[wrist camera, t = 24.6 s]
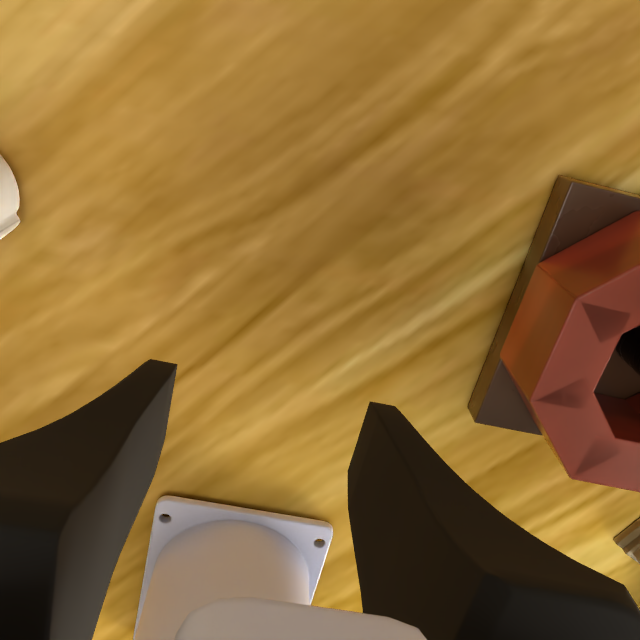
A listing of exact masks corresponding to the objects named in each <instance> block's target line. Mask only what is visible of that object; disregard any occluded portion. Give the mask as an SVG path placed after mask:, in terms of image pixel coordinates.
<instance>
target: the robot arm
mask: <svg viewBox="0 0 640 640" xmlns="http://www.w3.org/2000/svg"><path fill="white" fill-rule="evenodd" d="M176 370H177V364H173V363H168V362H163V361H157V360H152V359H150V360H148V361H147V362H145V363H144V364H142V365H141V366H140V367H139V368H137V369H136V370H135V371H134V372H132V373H131V374H130V375H128V376H127V377H126V378H124V379H123V380H122V381H120V382H119V383H118V384H116V385H115V386H113V387H112V388H111V389H109V390H108V391H106V392H105V393H103V394H102V395H101V396H99V397H98V398H96V399H94V400H93V401H91V402H89V403H88V404H86V405H85V406H83V407H81V408H80V409H78V410H76V411H75V412H73V413H71V414H69V415H67V416H65V417H64V418H62V419H59V420H57V421H55V422H53V423H51V424H49V425H46V426H44V427H42V428H40V429H37V430H35V431H32V432H29V433H27V434H24V435H21V436H18V437H16V438H13V439H10V440H7V441H5V442H2V443H0V640H92V637H93V634H94V631H95V628H96V624H97V621H98V618H99V615H100V611H101V608H102V605H103V602H104V599H105V596H106V592H107V589H108V586H109V583H110V580H111V577H112V574H113V571H114V568H115V566H116V563H117V561H118V558H119V555H120V553H121V551H122V548H123V546H124V544H125V542H126V539H127V537H128V535H129V532H130V530H131V528H132V526H133V523H134V521H135V519H136V516H137V514H138V512H139V509H140V507H141V505H142V503H143V500H144V498H145V496H146V493H147V491H148V489H149V486H150V484H151V482H152V479H153V477H154V474H155V471H156V468H157V464H158V461H159V457H160V454H161V450H162V447H163V443H164V440H165V435H166V429H167V423H168V417H169V411H170V405H171V399H172V393H173V387H174V381H175V376H176ZM348 511H349V518H350V525H351V532H352V538H353V545H354V551H355V558H356V564H357V570H358V577H359V583H360V590H361V598H362V607H363V613H358V612H352V611H345V610H338V609H331V608H324V607H318V606H311V602H312V599H313V596H314V593H315V590H316V586H317V583H318V580H319V577H320V574H321V571H322V568H323V565H324V562H325V559H326V555H327V552H328V549H329V546H330V543H331V540H332V537H333V528H332V525H331V524H330V523H328V522H326V521H321V520H315V519H309V518H303V517H297V516H291V515H285V514H279V513H272V512H266V511H260V510H254V509H248V508H242V507H236V506H230V505H224V504H218V503H212V502H206V501H200V500H194V499H188V498H182V497H176V496H162V497H161V498H159V499H158V501H157V504H156V507H155V513H154V519H153V525H152V531H151V536H150V542H149V548H148V554H147V560H146V566H145V572H144V578H143V583H142V589H141V595H140V601H139V607H138V613H137V619H136V625H135V630H134V636H133V640H640V610H639V608H638V607H637V605H636V603H635V602H634V600H633V598H632V597H631V595H630V594H629V592H628V590H627V589H626V587H625V586H624V585H623V584H621V583H619V582H617V581H615V580H613V579H611V578H609V577H607V576H605V575H603V574H601V573H599V572H597V571H595V570H593V569H591V568H588V567H586V566H584V565H582V564H580V563H578V562H577V561H575V560H573V559H571V558H570V557H568V556H566V555H564V554H563V553H561V552H559V551H557V550H556V549H554V548H552V547H551V546H549V545H547V544H546V543H544V542H542V541H541V540H539V539H538V538H536V537H535V536H533V535H531V534H530V533H529V532H527V531H526V530H524V529H523V528H521V527H520V526H519V525H517V524H516V523H514V522H513V521H511V520H510V519H509V518H507V517H506V516H505V515H503V514H502V513H501V512H499V511H498V510H497V509H495V508H494V507H493V506H492V505H491V504H489V503H488V502H487V501H486V500H485V499H483V498H482V497H481V496H480V495H479V494H477V493H476V492H475V491H474V490H473V489H472V488H471V487H470V486H468V485H467V484H466V483H465V482H464V481H463V480H462V479H461V478H460V477H459V476H458V475H457V474H456V473H455V472H454V471H453V470H452V469H451V468H450V467H449V466H448V465H447V464H446V463H445V462H444V461H443V460H442V459H441V458H440V456H439V455H438V454H437V453H436V452H435V451H434V450H433V449H432V448H431V446H430V445H429V444H428V443H427V442H426V441H425V440H424V439H423V437H422V436H421V435H420V434H419V433H418V432H417V430H416V429H415V428H414V427H413V426H412V425H411V423H410V422H409V421H408V420H407V419H406V418H405V416H404V415H403V414H402V413H401V412H400V411H399V410H398V409H397V408H396V407H395V406H391V405H386V404H381V403H375V402H370V403H369V406H368V409H367V412H366V415H365V419H364V422H363V425H362V428H361V431H360V434H359V437H358V441H357V444H356V447H355V450H354V453H353V456H352V460H351V463H350V466H349V469H348ZM162 514H168V515H169V516H170V517H165V516H163V515H162ZM317 539H323V540H322V541H316V540H317Z"/></svg>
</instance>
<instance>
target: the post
mask: <svg viewBox="0 0 640 640" xmlns="http://www.w3.org/2000/svg"><path fill="white" fill-rule="evenodd" d="M639 210H640V195H637V194H633V193H629V192H625V191H621V190H617V189H613V188H609V187H605V186H601V185H597V184H593V183H589V182H585V181H581V180H577V179H573V178H569V177H566V176H562V175H559V176H558V178H557V181H556V183H555V186H554V189H553V191H552V194H551V196H550V199H549V201H548V204H547V206H546V209H545V211H544V214H543V217H542V219H541V222H540V224H539V227H538V229H537V232H536V234H535V237H534V239H533V242H532V245H531V247H530V250H529V252H528V255H527V257H526V260H525V262H524V265H523V267H522V270H521V273H520V275H519V278H518V280H517V283H516V285H515V288H514V290H513V293H512V295H511V298H510V301H509V303H508V306H507V308H506V311H505V313H504V316H503V318H502V321H501V323H500V326H499V329H498V331H497V334H496V336H495V339H494V341H493V344H492V346H491V349H490V352H489V354H488V357H487V359H486V362H485V364H484V367H483V369H482V372H481V374H480V377H479V380H478V382H477V385H476V387H475V390H474V392H473V395H472V397H471V400H470V402H469V405H468V409H469V411H470V413H471V415H472V417H473V419H474V422H476V423H480V424H485V425H491V426H496V427H501V428H506V429H511V430H517V431H522V432H527V433H532V434H537V435H542V433H541V432H540V430H539V429H538V427H537V426H536V424H535V422H534V420H533V418H532V416H531V414H530V413H529V411H528V409H527V407H526V405H525V403H524V401H523V399H522V398H521V396H520V394H519V392H518V390H517V388H516V386H515V385H514V383H513V381H512V379H511V377H510V375H509V373H508V371H507V370H506V368H505V366H504V364H503V362H502V360H501V358H500V353H501V350H502V348H503V345H504V343H505V340H506V338H507V336H508V333H509V331H510V328H511V326H512V323H513V321H514V319H515V316H516V314H517V311H518V309H519V306H520V304H521V302H522V299H523V297H524V294H525V292H526V289H527V287H528V285H529V282H530V280H531V277H532V275H533V272H534V270H535V268H536V265H538V264H539V263H540V262H542V261H544V260H546V259H548V258H549V257H551V256H553V255H555V254H557V253H559V252H561V251H562V250H564V249H566V248H568V247H570V246H572V245H574V244H575V243H577V242H579V241H581V240H583V239H585V238H587V237H588V236H590V235H592V234H594V233H596V232H598V231H600V230H601V229H603V228H605V227H607V226H609V225H611V224H613V223H614V222H616V221H618V220H620V219H622V218H624V217H625V216H627V215H629V214H631V213H633V212H635V211H639ZM594 393H596V394H601V395H606V396H610V397H615V398H620V399H624V400H625V399H627V398H629V397H631V396H633V395H635V394H637V393H640V325H639V326H637V327H635V328H633V329H631V330H629V331H627V332H625V333H623V334H622V335H621V337H620V339H619V341H618V343H617V345H616V347H615V349H614V351H613V353H612V355H611V357H610V359H609V361H608V363H607V365H606V367H605V369H604V371H603V374H602V376H601V378H600V380H599V382H598V384H597V386H596V388H595V390H594Z"/></svg>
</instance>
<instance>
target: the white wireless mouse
mask: <svg viewBox="0 0 640 640" xmlns="http://www.w3.org/2000/svg"><path fill="white" fill-rule="evenodd" d="M19 203H20V197H19V190H18V185H17V182H16V179H15V177H14V175H13V173H12V170H11V169H10V167H9V165H8V164H7V162H6V161H5V160H4V158H3V157H2V156H1V155H0V239H2V238H3V237H4V236H6V235H7V234H8V233H10V232H11V231H12V230H14V229H15V228H16V227H17V226H18V225H19V223H20V219H19V217H18V216H17V213H16V212H17V211H18V209H19Z"/></svg>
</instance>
